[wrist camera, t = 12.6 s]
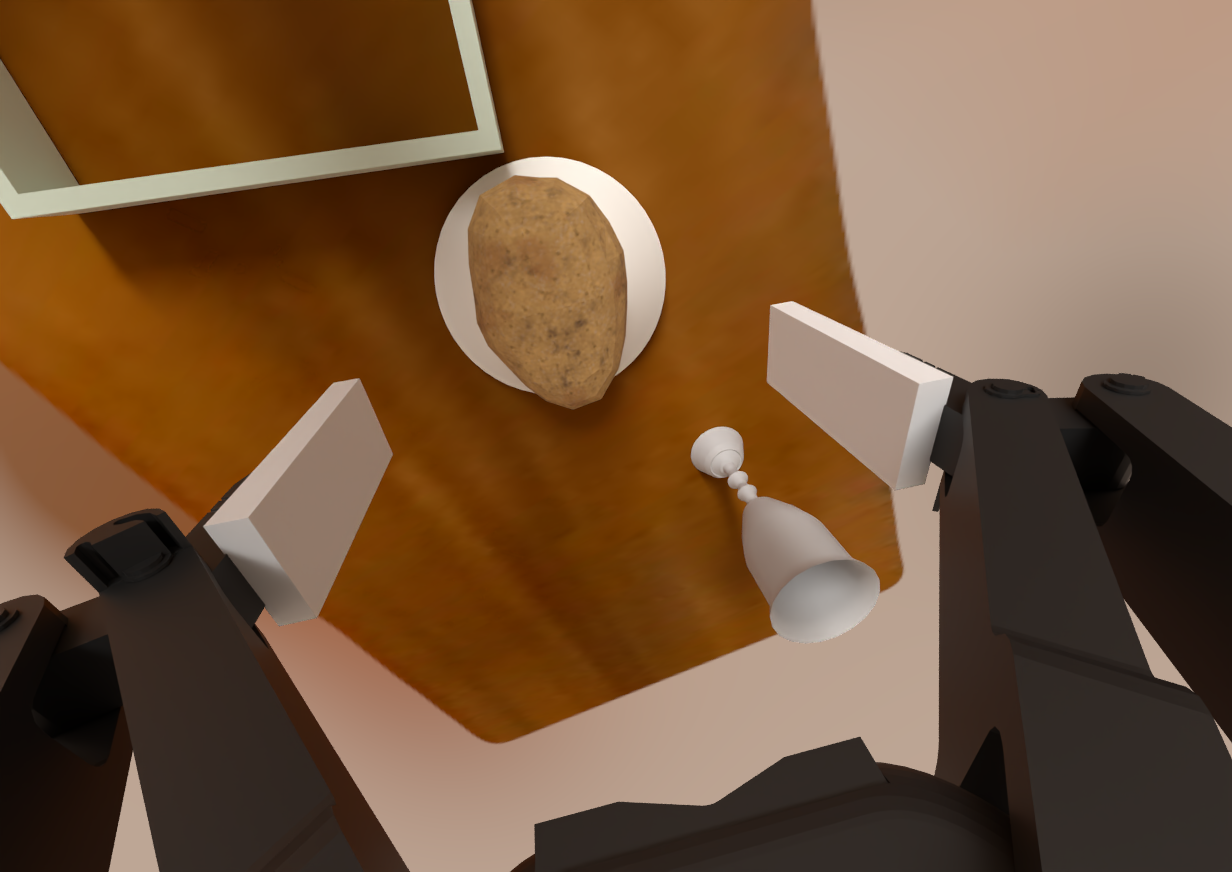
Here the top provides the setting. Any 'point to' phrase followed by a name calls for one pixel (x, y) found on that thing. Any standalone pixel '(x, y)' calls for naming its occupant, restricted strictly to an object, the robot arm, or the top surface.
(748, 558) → the chalice
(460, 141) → the crate
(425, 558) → the top surface
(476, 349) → the plate
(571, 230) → the potato
